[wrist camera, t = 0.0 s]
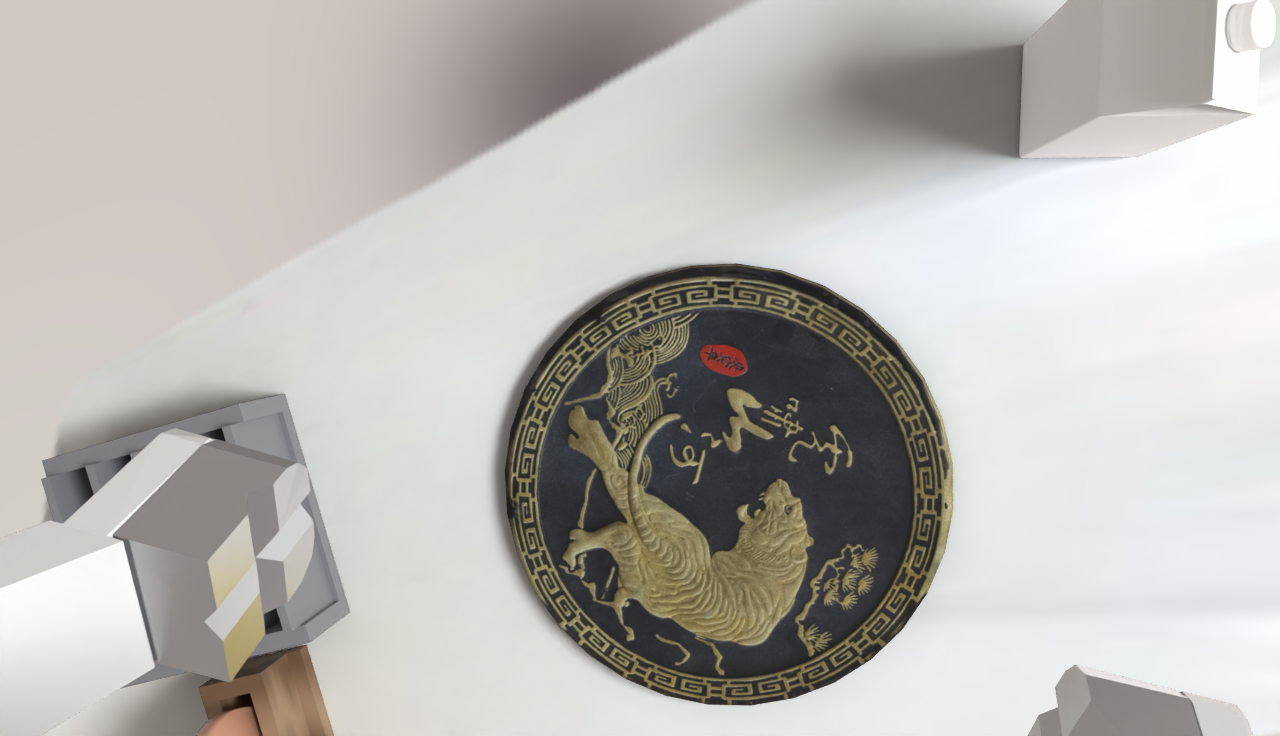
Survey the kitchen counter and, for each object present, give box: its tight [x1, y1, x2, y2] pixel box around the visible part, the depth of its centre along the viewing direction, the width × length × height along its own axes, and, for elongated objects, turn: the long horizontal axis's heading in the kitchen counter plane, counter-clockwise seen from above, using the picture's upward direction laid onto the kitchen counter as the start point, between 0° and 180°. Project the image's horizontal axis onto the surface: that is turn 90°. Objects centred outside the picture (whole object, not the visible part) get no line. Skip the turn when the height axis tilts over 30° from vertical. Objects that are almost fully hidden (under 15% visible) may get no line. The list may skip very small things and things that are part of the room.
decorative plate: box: [505, 264, 953, 705], centre depth 64 cm, size 30×2×30 cm
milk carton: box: [1019, 0, 1276, 158], centre depth 50 cm, size 7×7×19 cm
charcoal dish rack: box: [41, 394, 350, 688], centre depth 67 cm, size 16×15×7 cm
